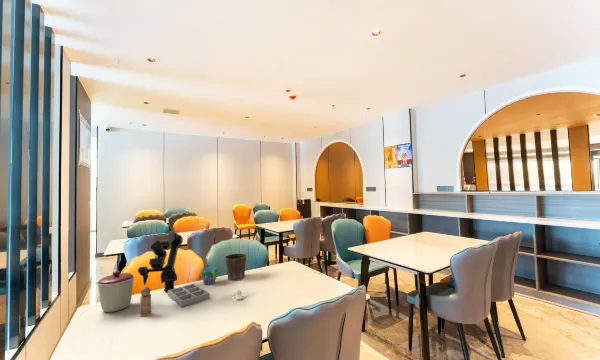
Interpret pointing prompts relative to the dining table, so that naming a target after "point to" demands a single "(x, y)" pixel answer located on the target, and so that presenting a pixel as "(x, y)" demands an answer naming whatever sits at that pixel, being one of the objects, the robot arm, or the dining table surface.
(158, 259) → the robot arm
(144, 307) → the skittle
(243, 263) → the plant pot
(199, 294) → the tray
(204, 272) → the snack cup
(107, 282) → the canister
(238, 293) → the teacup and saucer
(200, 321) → the dining table surface
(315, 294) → the dining table surface
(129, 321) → the dining table surface
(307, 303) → the dining table surface
